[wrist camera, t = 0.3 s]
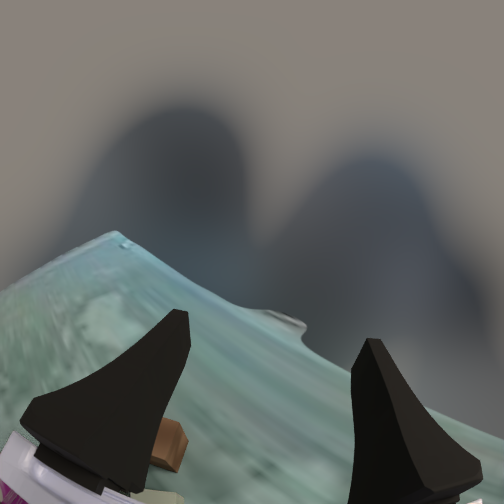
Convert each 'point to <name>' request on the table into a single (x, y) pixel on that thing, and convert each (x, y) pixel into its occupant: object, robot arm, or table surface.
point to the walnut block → (169, 445)
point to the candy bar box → (9, 495)
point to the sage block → (157, 497)
